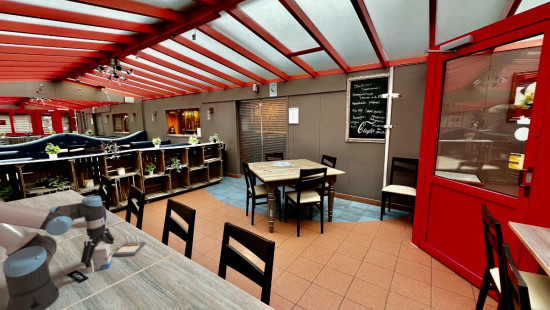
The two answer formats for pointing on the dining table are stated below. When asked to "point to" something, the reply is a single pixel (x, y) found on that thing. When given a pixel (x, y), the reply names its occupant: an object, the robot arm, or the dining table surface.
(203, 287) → the dining table surface
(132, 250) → the header board
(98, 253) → the ink box
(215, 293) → the dining table surface
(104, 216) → the planter
